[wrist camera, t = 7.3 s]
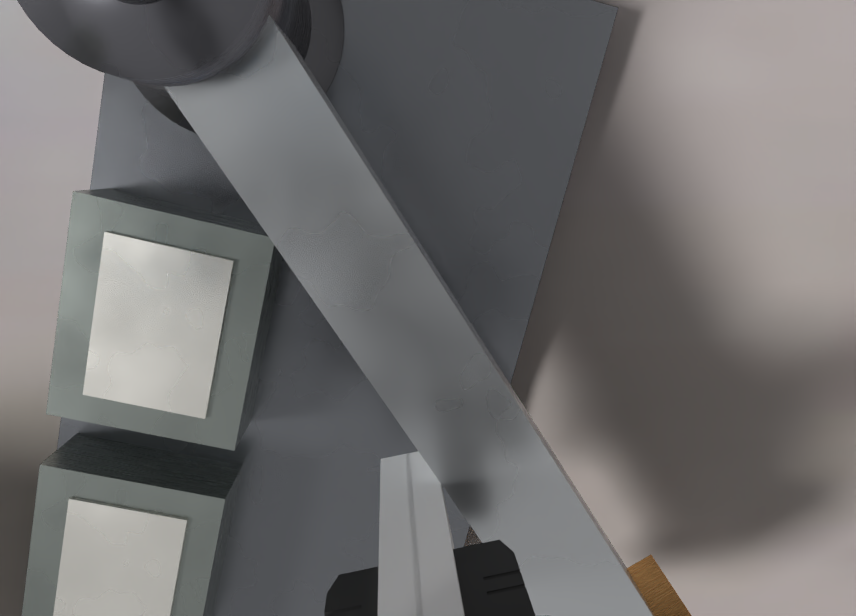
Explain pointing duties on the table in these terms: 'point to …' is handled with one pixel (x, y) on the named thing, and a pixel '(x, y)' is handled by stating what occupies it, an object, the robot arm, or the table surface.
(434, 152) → the tray
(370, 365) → the swing arm
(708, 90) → the table surface
